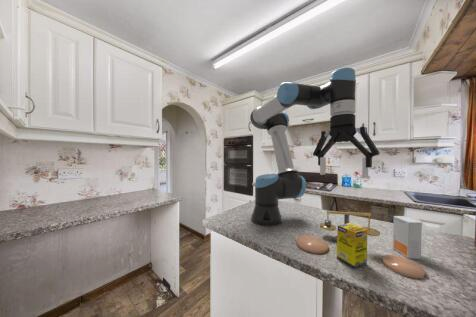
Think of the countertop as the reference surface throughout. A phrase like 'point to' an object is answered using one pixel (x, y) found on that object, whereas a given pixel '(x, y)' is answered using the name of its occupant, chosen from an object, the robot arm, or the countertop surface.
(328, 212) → the balance
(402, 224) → the skincare box
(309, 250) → the peach round dome
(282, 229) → the countertop surface
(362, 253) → the supplement box
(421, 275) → the glossy peach dome
